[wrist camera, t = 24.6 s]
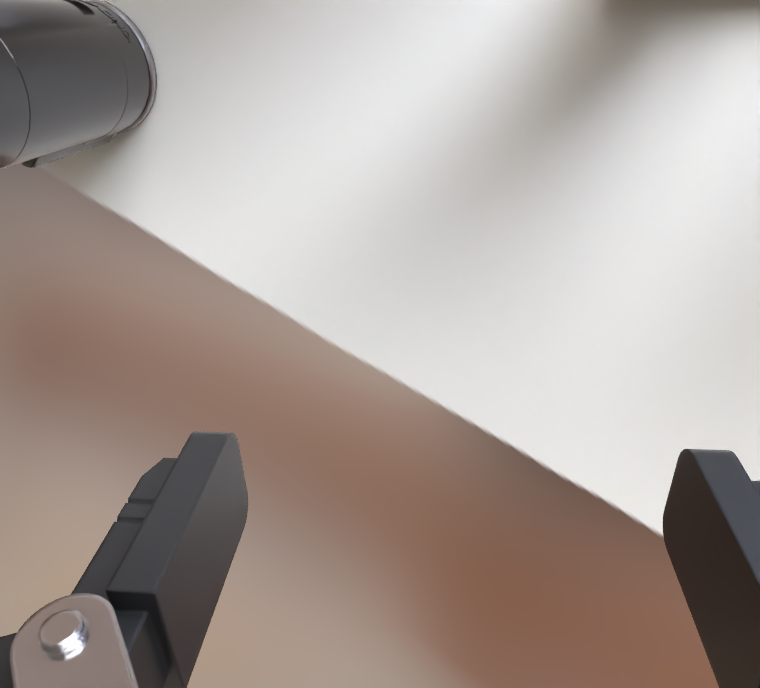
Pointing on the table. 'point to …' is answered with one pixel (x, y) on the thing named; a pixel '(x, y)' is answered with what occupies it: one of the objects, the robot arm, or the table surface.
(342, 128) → the table surface
